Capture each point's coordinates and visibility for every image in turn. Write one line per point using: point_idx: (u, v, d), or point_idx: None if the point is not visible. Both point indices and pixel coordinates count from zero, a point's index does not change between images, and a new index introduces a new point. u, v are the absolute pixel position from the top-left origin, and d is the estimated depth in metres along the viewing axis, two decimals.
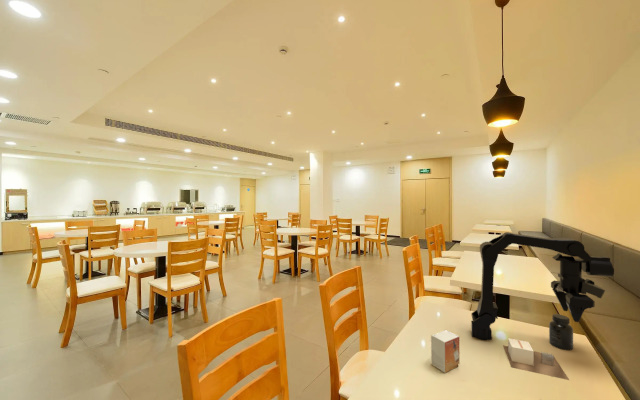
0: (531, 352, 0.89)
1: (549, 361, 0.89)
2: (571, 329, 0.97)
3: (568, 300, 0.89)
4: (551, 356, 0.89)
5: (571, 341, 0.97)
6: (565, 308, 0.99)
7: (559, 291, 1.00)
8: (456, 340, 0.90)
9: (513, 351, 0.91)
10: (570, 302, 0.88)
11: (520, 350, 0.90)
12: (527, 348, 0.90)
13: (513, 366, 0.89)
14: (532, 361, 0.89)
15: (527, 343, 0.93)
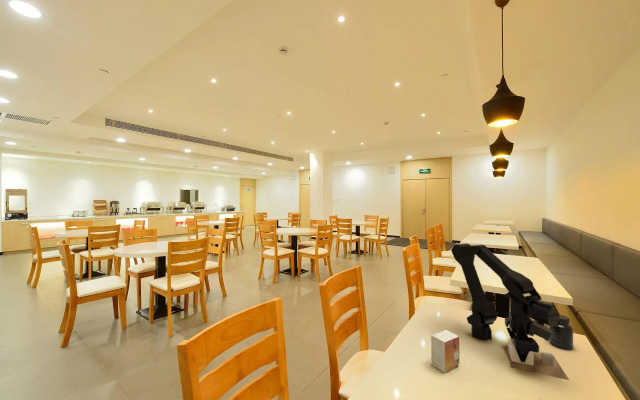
0: (531, 352, 0.89)
1: (549, 361, 0.89)
2: (571, 329, 0.97)
3: (514, 343, 0.87)
4: (551, 356, 0.89)
5: (571, 341, 0.97)
6: None
7: None
8: (456, 340, 0.90)
9: (513, 351, 0.91)
10: (516, 346, 0.86)
11: None
12: None
13: (513, 366, 0.89)
14: (532, 361, 0.89)
15: None
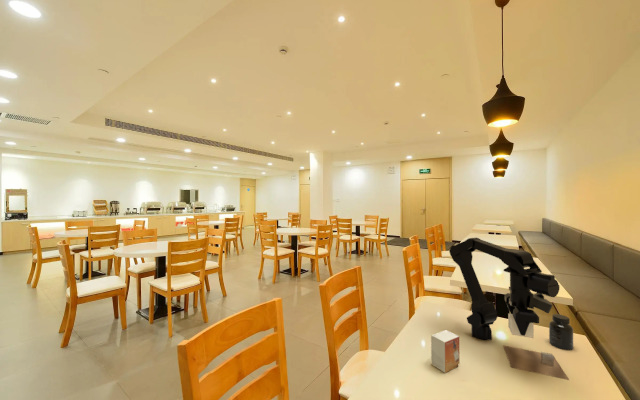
0: (531, 325, 0.89)
1: (549, 361, 0.89)
2: (571, 329, 0.97)
3: (514, 315, 0.87)
4: (551, 356, 0.89)
5: (571, 341, 0.97)
6: None
7: (512, 306, 0.97)
8: (456, 340, 0.90)
9: (513, 324, 0.91)
10: (516, 317, 0.86)
11: None
12: None
13: (513, 366, 0.89)
14: (532, 334, 0.89)
15: None
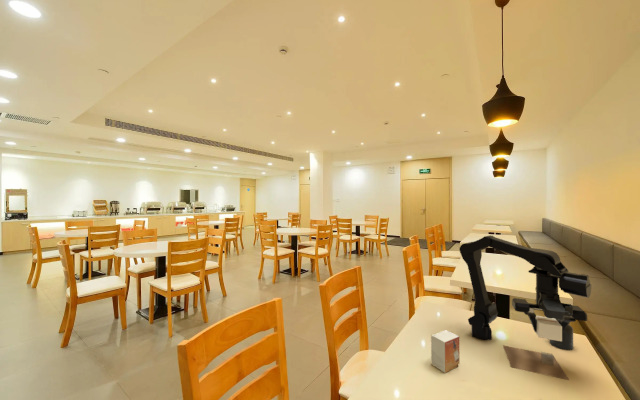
0: (538, 324, 0.88)
1: (549, 361, 0.89)
2: (571, 329, 0.97)
3: None
4: (551, 356, 0.89)
5: (571, 341, 0.97)
6: None
7: None
8: (456, 340, 0.90)
9: None
10: None
11: None
12: (541, 321, 0.89)
13: (513, 366, 0.89)
14: (538, 333, 0.88)
15: (556, 324, 0.86)
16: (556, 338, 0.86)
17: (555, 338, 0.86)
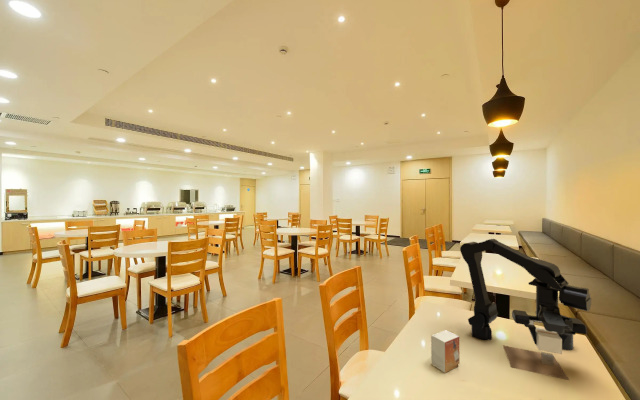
0: (538, 336, 0.88)
1: (549, 361, 0.89)
2: None
3: None
4: (551, 356, 0.89)
5: (571, 341, 0.97)
6: None
7: None
8: (456, 340, 0.90)
9: None
10: None
11: None
12: (541, 333, 0.89)
13: (513, 366, 0.89)
14: (538, 345, 0.88)
15: (556, 337, 0.86)
16: (556, 351, 0.86)
17: (555, 351, 0.86)
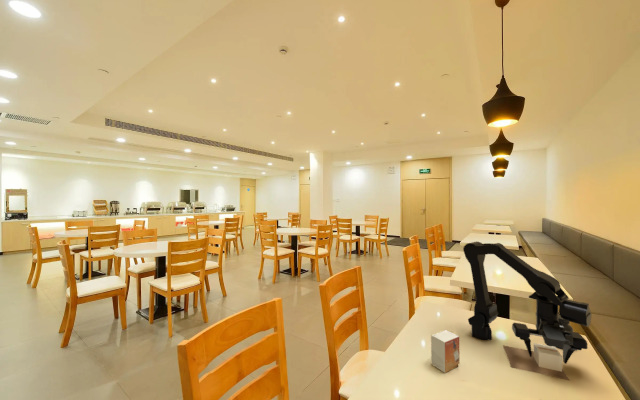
0: (538, 353, 0.88)
1: None
2: (571, 329, 0.97)
3: None
4: None
5: None
6: (563, 359, 0.88)
7: None
8: (456, 340, 0.90)
9: None
10: None
11: (535, 348, 0.91)
12: (541, 350, 0.89)
13: (513, 366, 0.89)
14: (538, 362, 0.88)
15: (556, 354, 0.86)
16: (556, 368, 0.86)
17: (555, 368, 0.86)
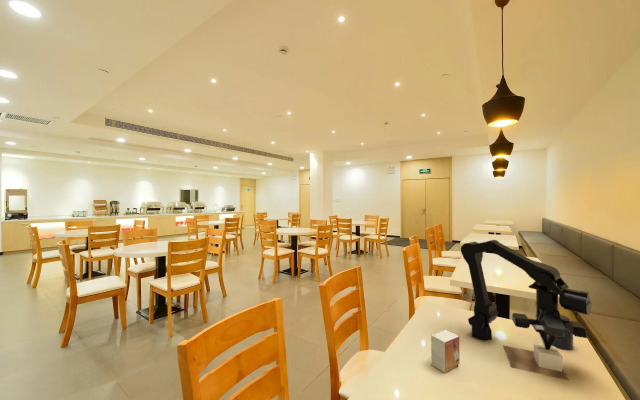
0: (538, 353, 0.88)
1: None
2: None
3: None
4: None
5: (571, 341, 0.97)
6: None
7: None
8: (456, 340, 0.90)
9: None
10: None
11: (535, 348, 0.91)
12: (541, 350, 0.89)
13: (513, 366, 0.89)
14: (538, 362, 0.88)
15: (556, 354, 0.86)
16: (556, 368, 0.86)
17: (555, 368, 0.86)
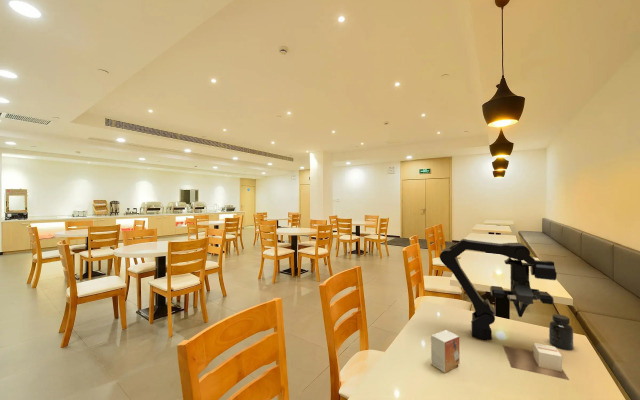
0: (538, 353, 0.88)
1: None
2: (571, 329, 0.97)
3: None
4: None
5: (571, 341, 0.97)
6: None
7: None
8: (456, 340, 0.90)
9: None
10: None
11: (535, 348, 0.91)
12: (541, 350, 0.89)
13: (513, 366, 0.89)
14: (538, 362, 0.88)
15: (556, 354, 0.86)
16: (556, 368, 0.86)
17: (555, 368, 0.86)
